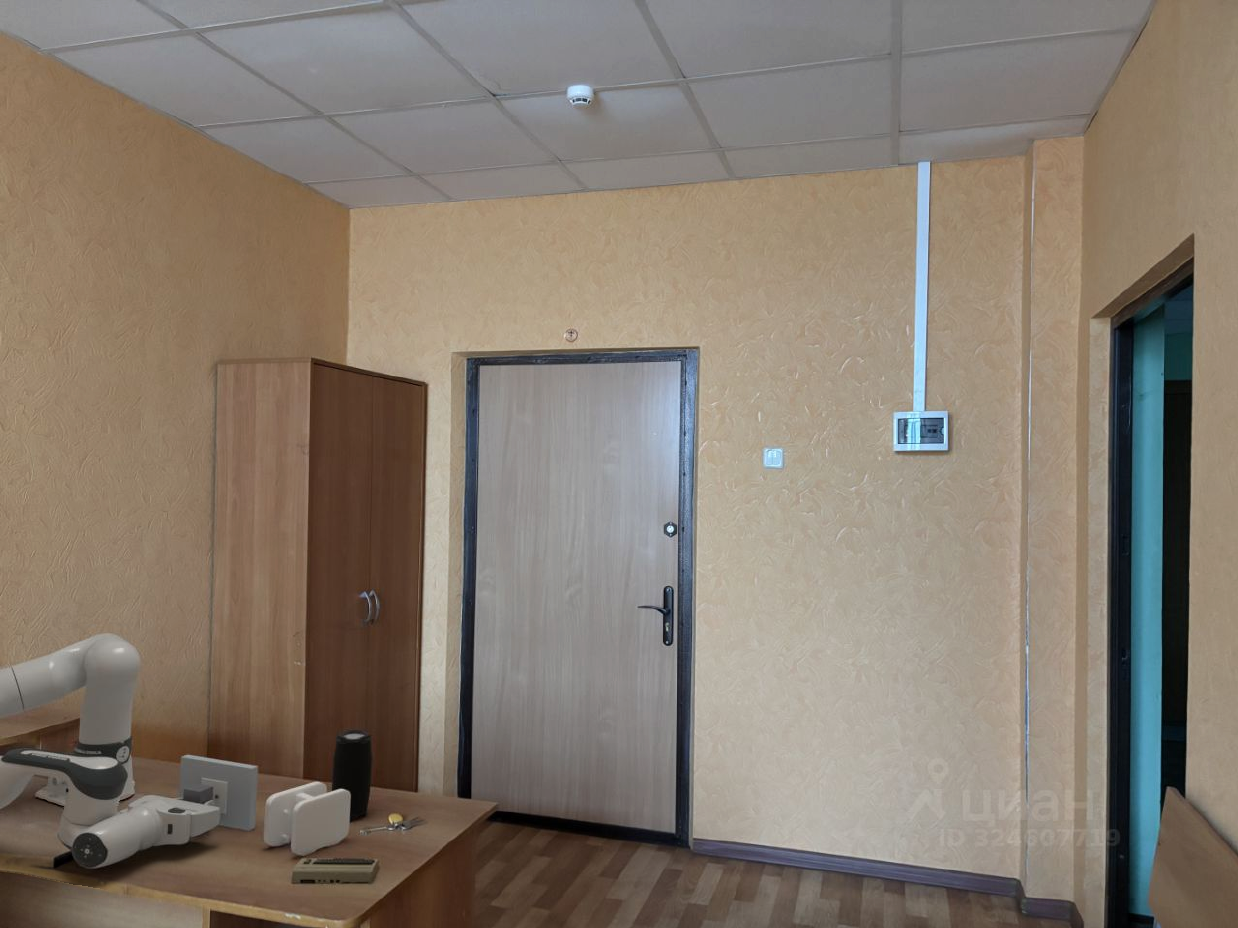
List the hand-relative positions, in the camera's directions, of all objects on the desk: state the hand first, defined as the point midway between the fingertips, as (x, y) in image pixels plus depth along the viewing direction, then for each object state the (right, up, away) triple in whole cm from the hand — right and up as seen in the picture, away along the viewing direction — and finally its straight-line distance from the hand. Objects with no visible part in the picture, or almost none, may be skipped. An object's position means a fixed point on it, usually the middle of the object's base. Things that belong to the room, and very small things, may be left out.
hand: (200, 801), depth 201 cm
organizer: (+25, -8, -5) cm, 27 cm away
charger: (-1, -6, -1) cm, 6 cm away
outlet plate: (+1, -7, +5) cm, 8 cm away
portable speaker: (+30, -8, +12) cm, 33 cm away
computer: (+37, -8, -19) cm, 42 cm away
